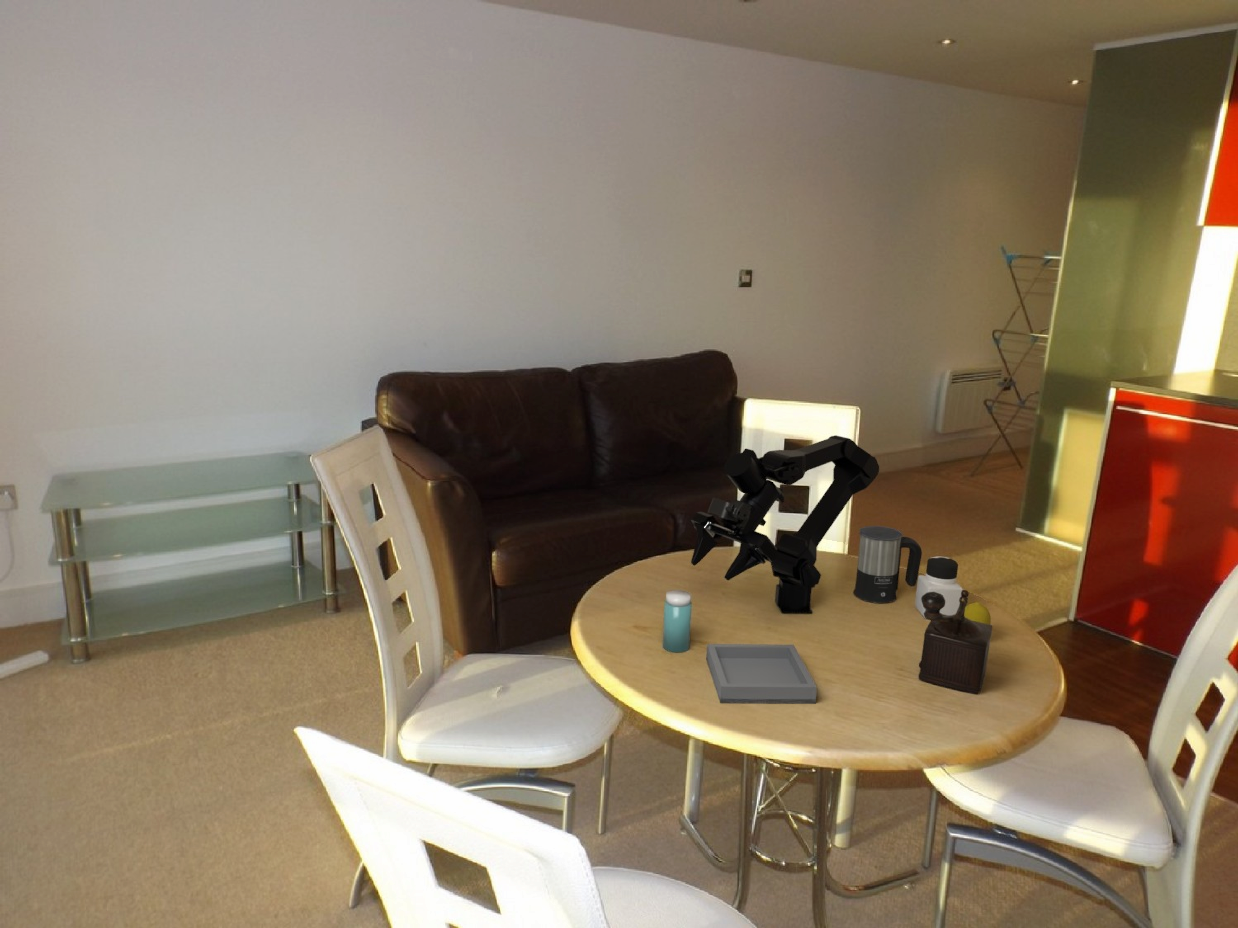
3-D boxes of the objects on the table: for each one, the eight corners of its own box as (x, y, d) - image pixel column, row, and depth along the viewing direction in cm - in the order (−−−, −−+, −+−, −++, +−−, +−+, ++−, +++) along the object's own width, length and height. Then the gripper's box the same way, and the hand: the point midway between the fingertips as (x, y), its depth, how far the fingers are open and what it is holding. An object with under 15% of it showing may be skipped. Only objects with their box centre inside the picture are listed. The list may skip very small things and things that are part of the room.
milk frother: (869, 606, 189) (877, 540, 185) (826, 580, 203) (832, 518, 199) (923, 598, 194) (931, 534, 190) (877, 573, 208) (884, 513, 205)
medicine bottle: (959, 620, 183) (966, 566, 180) (924, 619, 183) (931, 564, 180) (947, 607, 190) (954, 554, 187) (914, 605, 190) (920, 552, 187)
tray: (792, 659, 163) (793, 644, 162) (815, 703, 147) (817, 687, 147) (706, 658, 162) (707, 643, 161) (720, 703, 147) (721, 686, 146)
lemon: (988, 637, 175) (993, 599, 173) (986, 648, 170) (992, 609, 168) (958, 631, 177) (963, 594, 175) (956, 642, 172) (961, 604, 171)
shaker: (687, 641, 169) (690, 589, 167) (690, 652, 164) (693, 600, 162) (661, 640, 169) (663, 589, 166) (664, 652, 164) (666, 599, 162)
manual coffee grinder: (924, 657, 166) (935, 566, 162) (987, 671, 161) (1000, 578, 156) (907, 691, 153) (919, 594, 148) (975, 709, 148) (989, 608, 143)
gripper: (700, 471, 174) (655, 534, 170) (771, 494, 160) (723, 563, 156) (727, 503, 181) (684, 565, 177) (796, 528, 167) (751, 595, 163)
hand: (708, 571), depth 168 cm, fingers open, 9 cm apart
